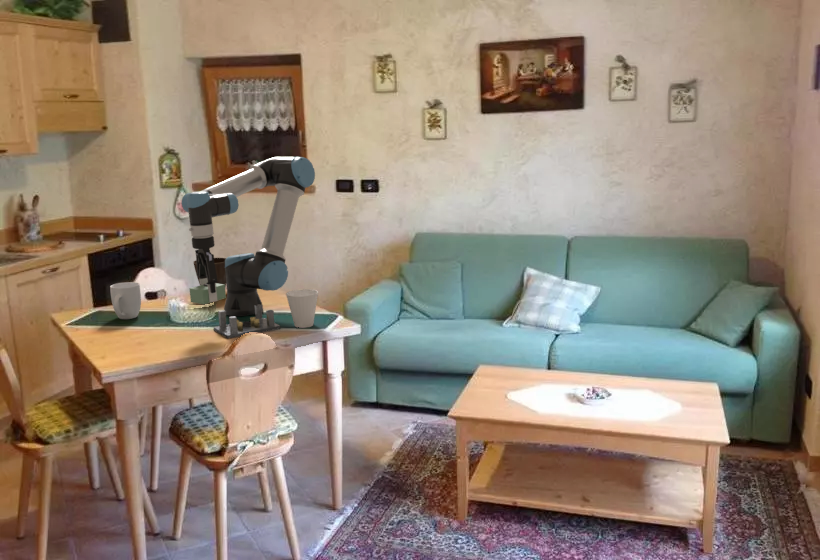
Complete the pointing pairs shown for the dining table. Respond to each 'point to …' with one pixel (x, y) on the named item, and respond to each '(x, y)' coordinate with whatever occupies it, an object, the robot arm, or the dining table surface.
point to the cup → (302, 306)
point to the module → (206, 293)
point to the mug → (126, 299)
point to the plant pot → (217, 270)
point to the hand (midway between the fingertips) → (209, 298)
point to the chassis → (246, 324)
